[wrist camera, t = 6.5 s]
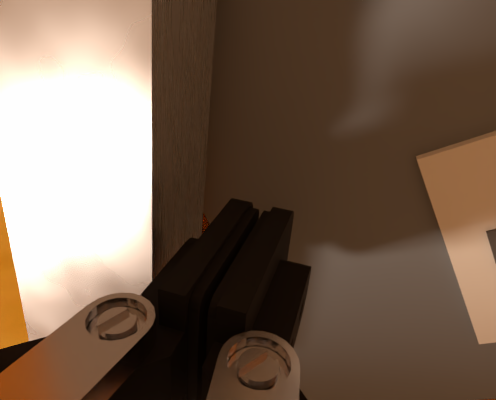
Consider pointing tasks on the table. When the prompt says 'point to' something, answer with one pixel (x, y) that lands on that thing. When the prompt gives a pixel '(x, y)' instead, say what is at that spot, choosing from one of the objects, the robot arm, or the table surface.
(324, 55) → the label board
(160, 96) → the swing bar
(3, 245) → the table surface
